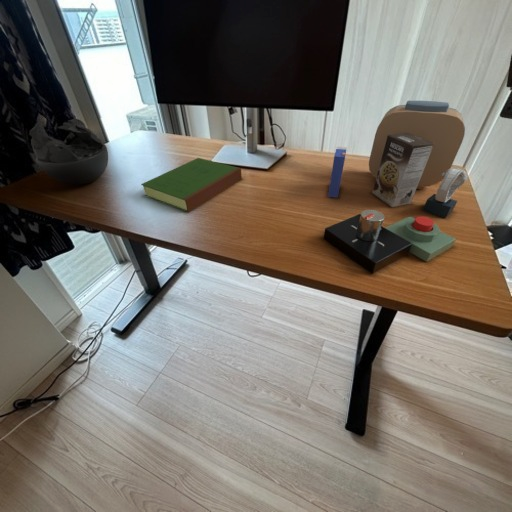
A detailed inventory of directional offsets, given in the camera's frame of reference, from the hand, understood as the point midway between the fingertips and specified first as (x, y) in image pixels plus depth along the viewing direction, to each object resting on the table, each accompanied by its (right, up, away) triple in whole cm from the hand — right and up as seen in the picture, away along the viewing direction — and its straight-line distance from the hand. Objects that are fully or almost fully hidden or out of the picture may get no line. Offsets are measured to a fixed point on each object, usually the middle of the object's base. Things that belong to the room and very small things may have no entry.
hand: (508, 117), depth 44 cm
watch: (+5, -11, +25) cm, 28 cm away
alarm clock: (+3, 0, +39) cm, 39 cm away
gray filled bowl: (-99, +2, +47) cm, 110 cm away
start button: (-6, -17, +13) cm, 22 cm away
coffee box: (-4, -7, +31) cm, 32 cm away
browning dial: (-18, -18, +13) cm, 29 cm away
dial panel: (-18, -21, +15) cm, 31 cm away
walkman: (-19, -4, +35) cm, 40 cm away
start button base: (-6, -20, +16) cm, 26 cm away
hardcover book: (-61, -1, +41) cm, 73 cm away
